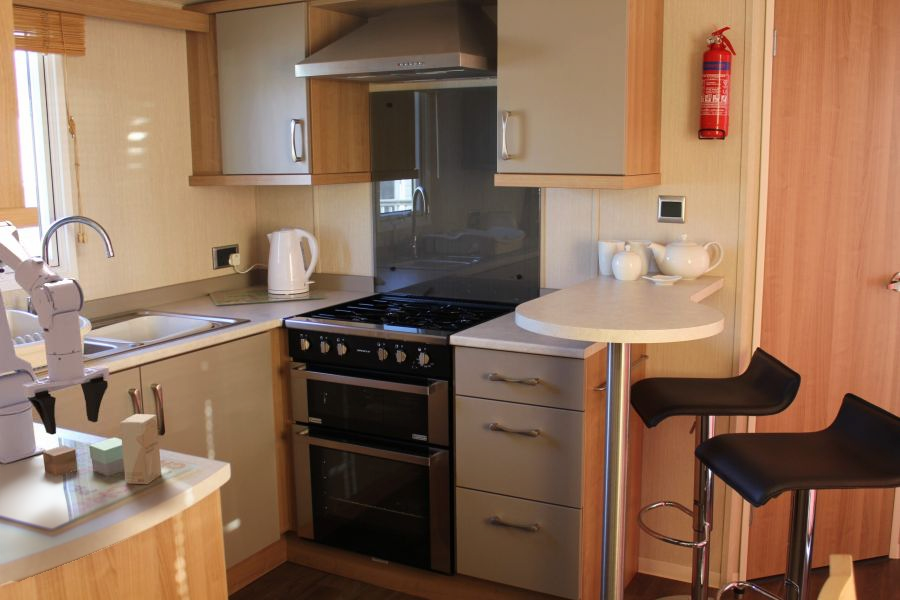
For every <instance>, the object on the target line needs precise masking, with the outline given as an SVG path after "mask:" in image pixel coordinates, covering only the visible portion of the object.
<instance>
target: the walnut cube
mask: <svg viewBox="0 0 900 600" xmlns="http://www.w3.org/2000/svg"><path fill="white" fill-rule="evenodd" d="M42 458H43V467H44V473H46V474H48V475H50V476H53V477H56V478H59V477H60V476H64V475H67V474H70V473H69V472H71V471H74V470H77V469H78V461H77V453H76V448H72V447H70V446H67V445H64V444H63V445H60V446H57V447H53V448H51V449H47V450H46V451H43V452H42ZM78 470H79V469H78ZM78 470H77V471H78ZM74 472H75V471H74ZM66 473H67V474H66ZM71 473H72V472H71Z"/></svg>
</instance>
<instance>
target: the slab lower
mask: <svg viewBox="0 0 900 600" xmlns="http://www.w3.org/2000/svg"><path fill="white" fill-rule="evenodd" d="M91 463H92V464H91V465H92V470H95V471H94V472H96V471H97V472H96V473H98V472H100V473H99V474H101V473H103V474H105V475H104V476H106V475H108V476H107V477H110V476H112V474H113V475H116V474H118V472H119V473H122V472H125V471H124V461H123V459H120V460H117V461H114V462H111V463H107V464H104V463H101V462H99V461H96V460H94V459H91ZM115 473H116V474H115ZM103 474H102V475H103ZM109 475H110V476H109Z"/></svg>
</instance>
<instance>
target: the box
mask: <svg viewBox="0 0 900 600" xmlns="http://www.w3.org/2000/svg"><path fill="white" fill-rule="evenodd" d="M157 420H158V419H157V414H148V413H146V414H143V413H135V414H133V415H131V416H129V417H127V418H125V419H124V420H122V421H120V423H119V424H120V426H119V427H120V436H121V438H120V439H121V440H122V450H123V461H124V471H123V472H124V479H125V484H135V485H137V484H138V485H148V484H150V483H151V482H152V481H154V480H156V479H157V478H158V477H160V476H161V475H162V464H161V455H160V454H161V452H160V451H161V450H160V441H159V431H158V421H157Z"/></svg>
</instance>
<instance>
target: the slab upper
mask: <svg viewBox="0 0 900 600" xmlns="http://www.w3.org/2000/svg"><path fill="white" fill-rule="evenodd" d="M88 447H89V457H90V459H91V460H92V459H94V460H96V461H99V462H101V463H104V464H107V463H111V462H114V461H117V460H120V459H123V450H122V439H121V438H118V437H110V438H108V439H105V440H102V441H99V442H95V443H92V444H89V446H88Z"/></svg>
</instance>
